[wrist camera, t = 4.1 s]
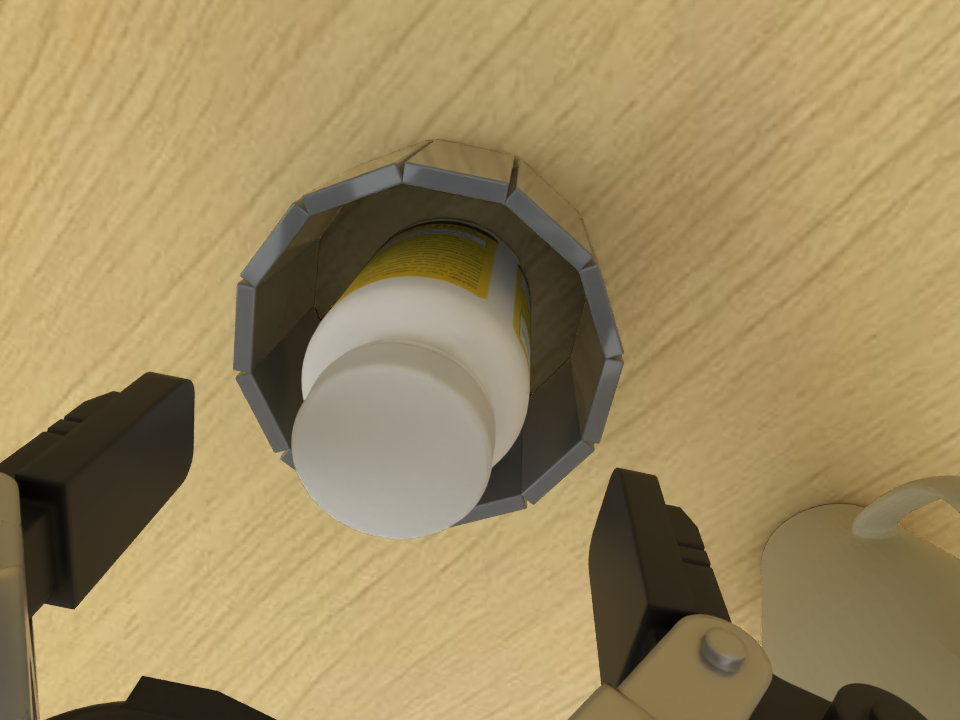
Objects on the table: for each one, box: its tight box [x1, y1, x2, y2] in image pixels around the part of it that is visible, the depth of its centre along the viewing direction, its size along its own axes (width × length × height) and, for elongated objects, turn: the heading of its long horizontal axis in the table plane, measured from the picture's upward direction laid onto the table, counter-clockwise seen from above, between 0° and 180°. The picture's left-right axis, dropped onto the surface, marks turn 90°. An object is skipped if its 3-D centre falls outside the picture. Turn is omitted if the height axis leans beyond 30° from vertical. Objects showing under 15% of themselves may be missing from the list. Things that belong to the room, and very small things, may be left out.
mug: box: [762, 476, 960, 720], centre depth 19 cm, size 11×10×12 cm
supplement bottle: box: [291, 218, 531, 539], centre depth 18 cm, size 5×5×10 cm
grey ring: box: [233, 139, 624, 527], centre depth 20 cm, size 10×10×6 cm
